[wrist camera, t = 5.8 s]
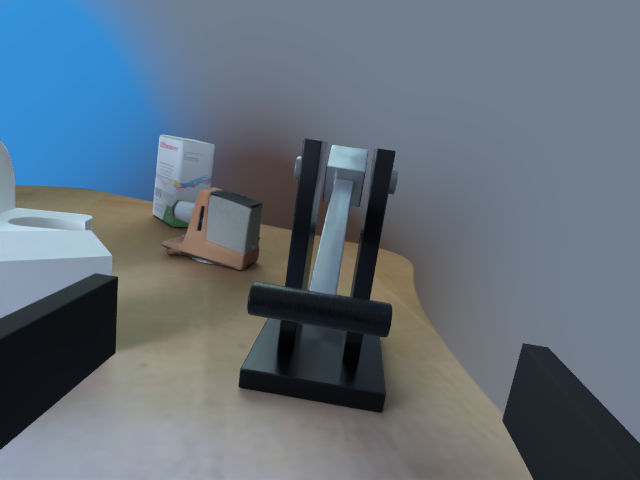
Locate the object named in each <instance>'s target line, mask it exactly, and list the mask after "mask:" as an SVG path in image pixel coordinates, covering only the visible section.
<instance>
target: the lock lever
mask: <svg viewBox="0 0 640 480" xmlns="http://www.w3.org/2000/svg"><path fill="white" fill-rule="evenodd" d="M367 156H368V150H364V149H357V148H350V147H343V146H336V145H333V146H332V148H331V152H330V155H329V159H328V163H327V166H326V175H325V185H324V195H323V202H329V206H328V210H327V214H326V219H325V223H324V227H323V232H322V236H321V240H320V244H319V248H318V253H317V257H316V261H315V265H314V270H313V274H312V278H311V283H310V287H309V290H305V289H299V288H292V287H286V286H280V285H274V284H268V283H262V282H254V283H253V285H252V287H251V289H250V292H249V297H248V304H247V310H248V314H250V315H255V316H260V317H266V318H272V319H278V320H284V321H290V322H296V323H302V324H308V325H314V326H320V327H326V328H332V329H338V330H343V331H349V332H355V333H361V334H367V335H373V336H379V337H387V336H388V334H389V331H390V326H391V320H392V305H391V304H390V303H384V302H378V301H372V300H366V299H360V298H353V297H347V296H341V295H336V293H337V286H338V280H339V274H340V267H341V261H342V255H343V248H344V242H345V236H346V229H347V223H348V217H349V210H350V206H356V207H359V206H360V201H361V195H362V190H363V184H364V178H365V172H366V164H367Z"/></svg>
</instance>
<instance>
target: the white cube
mask: <svg viewBox="0 0 640 480" xmlns="http://www.w3.org/2000/svg"><path fill="white" fill-rule="evenodd" d="M95 273H98V274H104V275H110V276H112V255H111V254H110V252H109V251H108V250H107V249H106V248H105V246H104V245H103V244H102V243H101V242H100V240H99V239H98V238H97V237H96V236H95V234H94V233H93V232H92V231H91V230H72V231H0V318H2V317H4V316H6V315H8V314H10V313H12V312H15V311H17V310H19V309H21V308H23V307H25V306H27V305H29V304H31V303H34V302H36V301H38V300H40V299H42V298H44V297H46V296H48V295H51V294H53V293H55V292H57V291H59V290H61V289H63V288H65V287H67V286H70V285H72V284H74V283H76V282H78V281H80V280H82V279H84V278H86V277H89V276H91V275H93V274H95Z"/></svg>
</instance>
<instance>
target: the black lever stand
mask: <svg viewBox="0 0 640 480" xmlns="http://www.w3.org/2000/svg"><path fill="white" fill-rule="evenodd" d="M327 144H328V143H327V142H325V141H321V140H314V139H307V138H305V139H304V142H303V149H302V157H298V158H297V160H296V165H295V173H294V178H295V180H299V181H298V189H297V197H296V205H295V213H294V220H293V229H292V236H291V244H290V252H289V259H288V267H287V275H286V283H285V286H286V287H292V288H299V289H305V290H307V288H308V280H309V273H310V266H311V259H312V252H313V245H314V237H315V230H316V223H317V216H318V208H319V202H320V194H321V186H322V180H323V173H324V165H325V158H326V151H327ZM394 157H395V151H391V150H384V149H374V154H373V160H372V166H371V173H370V179H369V185H368V191H367V197H366V203H365V209H364V215H363V221H362V227H361V233H360V240H359V245H358V252H357V258H356V264H355V270H354V276H353V282H352V288H351V294H350V297H353V298H360V299H366V300H370V295H371V289H372V283H373V278H374V272H375V266H376V260H377V255H378V249H379V243H380V237H381V232H382V226H383V220H384V215H385V209H386V203H387V198H388V194H394V192H395V189H396V184H397V177H398V172H397V171H394V170H392V169H393V163H394ZM239 387H240V388H246V389H251V390H257V391H262V392H268V393H273V394H279V395H285V396H290V397H296V398H301V399H307V400H312V401H318V402H324V403H329V404H335V405H340V406H346V407H351V408H357V409H363V410H368V411H374V412H379V413H382V411H383V407H384V402H385V397H386V391H385V382H384V373H383V363H382V354H381V345H380V337H379V336H373V335H367V334H361V333H355V332H349V331H343V330H338V329H332V328H326V327H320V326H314V325H308V324H302V323H296V322H290V321H284V320H278V319H272V318H268V319H267V321H266V323H265V325H264V327H263V328H262V330H261V332H260V334H259V336H258V338H257V339H256V341H255V343H254V345H253V347H252V349H251V351H250V352H249V354H248V356H247V358H246V360H245V362H244V363H243V365H242V367H241V369H240V378H239Z"/></svg>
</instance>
